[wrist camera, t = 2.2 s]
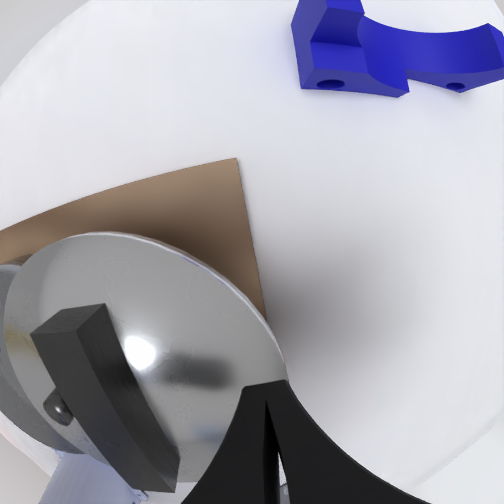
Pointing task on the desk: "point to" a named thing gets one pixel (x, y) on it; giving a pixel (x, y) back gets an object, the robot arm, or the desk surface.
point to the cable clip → (388, 52)
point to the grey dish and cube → (8, 387)
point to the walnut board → (160, 221)
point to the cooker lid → (136, 352)
